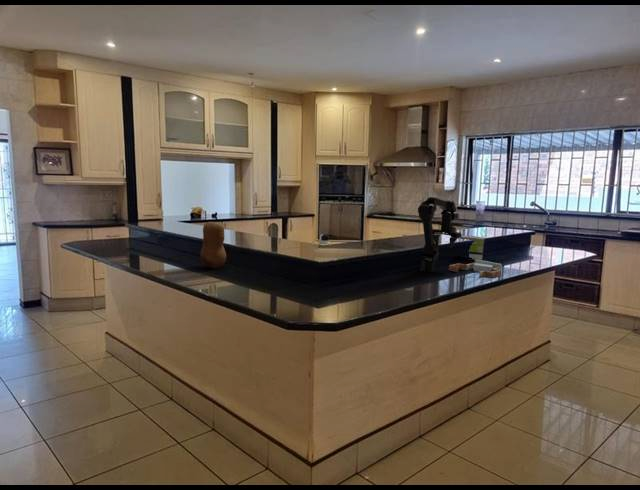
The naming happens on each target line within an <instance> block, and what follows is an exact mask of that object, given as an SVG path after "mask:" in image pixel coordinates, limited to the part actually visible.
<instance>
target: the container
mask: <svg viewBox="0 0 640 490" xmlns="http://www.w3.org/2000/svg"><path fill="white" fill-rule="evenodd" d="M330 237H331V236H330V235H329V234H326V233H325V234H323V233H322V234H320V235H319V241H318V243H317V245H318V244H330V245H331V242H330Z"/></svg>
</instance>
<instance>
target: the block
mask: <svg viewBox="0 0 640 490" xmlns="http://www.w3.org/2000/svg"><path fill="white" fill-rule="evenodd" d="M474 263H475V262H474ZM492 269H493V265H487V264H478V263H475V264H474V268H473V272H479V273H480V271H489V272H491V270H492Z"/></svg>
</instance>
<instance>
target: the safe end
mask: <svg viewBox="0 0 640 490" xmlns="http://www.w3.org/2000/svg"><path fill="white" fill-rule="evenodd" d="M474 263H478V264H487V265H493V269H494V268H498V267H499V268H500V270H501V271H502V268H503V267H502V266H503V264H502V263H497V262H492V261H487V260H483V259H482V260H477V259H474Z"/></svg>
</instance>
